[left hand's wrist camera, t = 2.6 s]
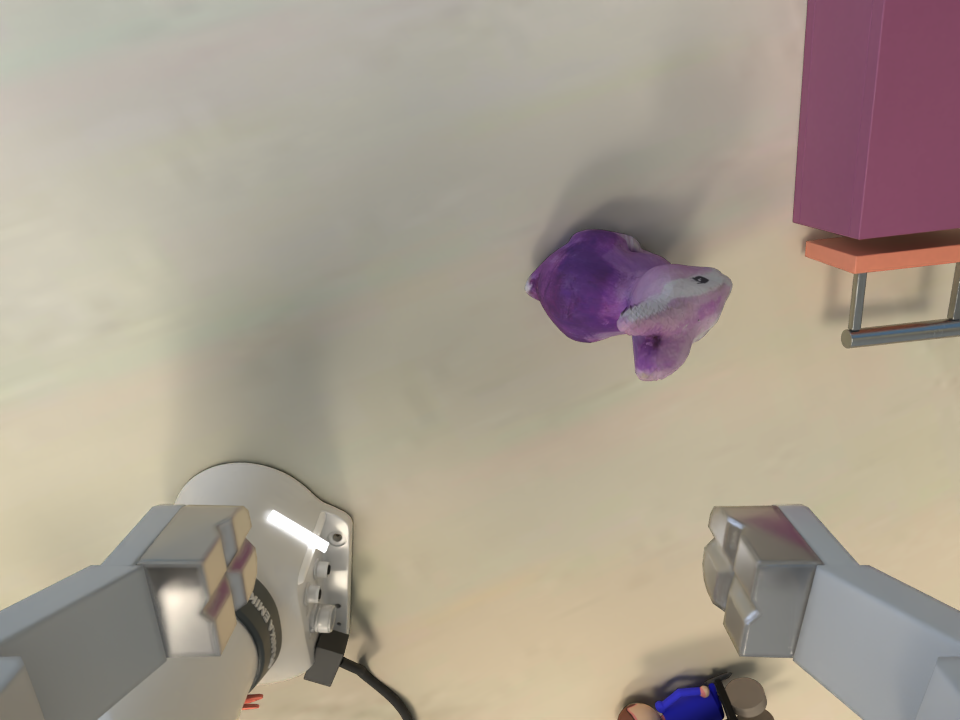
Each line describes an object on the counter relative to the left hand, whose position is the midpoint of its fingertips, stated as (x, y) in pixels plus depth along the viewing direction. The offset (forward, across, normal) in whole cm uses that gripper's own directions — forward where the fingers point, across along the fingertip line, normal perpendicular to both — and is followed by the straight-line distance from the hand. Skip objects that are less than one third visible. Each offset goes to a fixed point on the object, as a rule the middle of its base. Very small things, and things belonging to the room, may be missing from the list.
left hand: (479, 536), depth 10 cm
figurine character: (+37, +21, -48) cm, 64 cm away
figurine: (+37, +10, -4) cm, 39 cm away
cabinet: (+37, +28, +11) cm, 48 cm away
